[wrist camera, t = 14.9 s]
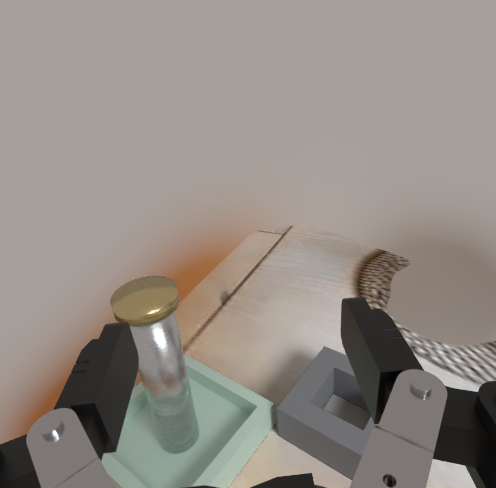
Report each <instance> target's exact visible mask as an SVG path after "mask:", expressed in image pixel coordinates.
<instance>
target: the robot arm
mask: <svg viewBox="0 0 496 488" xmlns="http://www.w3.org/2000/svg"><path fill="white" fill-rule="evenodd" d="M341 338H342V343H343V347H344V349H345V352H346V354H347V357H348V359H349V362H350V364H351V367H352V369H353V372H354V374H355V377H356V379H357V382H358V384H359V387H360V389H361V392H362V394H363V397H364V399H365V402H366V404H367V407H368V409H369V412H370V414H371V417H372V419H373V422H374V424H379V425H378V426H375V427H374V428H373V430H372V433H371V435H370V438H369V440H368V443H367V445H366V448H365V450H364V453H363V455H362V458H361V460H360V463H359V465H358V468H357V470H356V473H355V475H354V478H353V480H352V483H351V485H350V488H426V484H427V480H428V476H429V472H430V467H431V463H432V459H437V460H441V461H446V462H451V463H456V464H460V465H465V466H466V468H467V470H468V472H469V474H470V476H471V478H472V480H473V481H474V483H475V485H476V487H477V488H496V381H491V382H486V383H484V384H483V385H482V386H481V387H480V388H479V391H478V392H473V391H467V390H461V389H455V388H450V387H447V386H445V385H444V384H443V383H442V381H441V380H440V379H438V378H437V377H436V376H434V375H433V374H431V373H429V372H426V371H424V370H423V368H422V366H421V365H420V363H419V362H418V360H417V358H416V357H415V355H414V354H413V352H412V350H411V349H410V347H409V346H408V344H407V342H406V341H405V339H404V338H403V336H402V334H401V333H400V331H399V330H398V329H397V326H396V325H395V323H394V321H393V320H392V318H391V317H390V316H389V315H387V314H386V313H385V312H383V311H382V310H381V309H373V310H371V309H370V307H369V305H368V303H367V302H366V300H365V298H364V297H355V298H346V299H343V300H342V309H341ZM138 366H139V356H138V351H137V348H136V345H135V342H134V338H133V335H132V332H131V329H130V326H129V324H128V323H127V322H121V323H112V324H106V325H105V326H104V329H103V331H102V333H101V335H100V337H99V339H94V340H91V341H90V342H89V343H88V344H87V345H86V346H85V347H84V349H82V351H81V353H80V355H79V357H78V359H77V361H76V365H74V368H73V370H72V374H70V376H69V378H68V380H67V382H66V384H65V386H64V389H63V391H62V393H61V395H60V397H59V399H58V401H57V403H56V406H55V408H54V410H53V411H50V412H48V413H46V414H45V415H43V416H42V417H41V418H39V419H38V420H37V421H36V422H35V423H34V424H33V425H32V427H31V428H30V430H29V432H28V434H26V435H24V436H21V437H19V438H16V439H14V440H11V441H9V442H6V443H3V444H0V488H114V486H113V484H112V482H111V480H110V478H109V476H108V474H107V472H106V470H105V468H104V466H103V464H102V462H101V461H102V457H103V454H104V453H113V452H116V450H117V446H118V442H119V439H120V435H121V431H122V427H123V424H124V420H125V416H126V412H127V409H128V405H129V401H130V398H131V394H132V390H133V386H134V383H135V379H136V375H137V371H138ZM184 488H218V487H212V486H207V485H202V486H193V487H184ZM251 488H326V487H322V486H318V485H314V481H313V476H312V473H308V474H299V475H290V476H282V477H276V478H273V479H271V480H268V481H266V482H263V483H261V484H258V485H256V486H254V487H251Z"/></svg>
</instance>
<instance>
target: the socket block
mask: <svg viewBox="0 0 496 488" xmlns="http://www.w3.org/2000/svg"><path fill="white" fill-rule="evenodd" d="M333 394H335V395H337V396H339V397H342V398H344V399H346V400H348V401H350V402H352V403H354V404H356V405H358V406H360V407H362V408H364V409H366V410H369V409H368V407H367V404H366V402H365V399H364V397H363V394H362V392H361V389H360V387H359V384H358V382H357V379H356V377H355V374H354V372H353V369H352V367H351V364H350V362H349V359H348V357H347V355H344V354H342V353H339V352H337V351H335V350H332V349H330V348H327V347H325V346H324V347H323V349H322V350H321V351H320V353H319V354H318V355H317V357H316V358H315V359H314V360H313V362H312V363H311V364H310V366H309V367H308V368H307V370H306V371H305V372H304V373H303V375H302V376H301V377H300V379H299V380H298V381H297V383H296V384H295V385H294V386H293V388H292V389H291V390H290V392H289V393H288V394H287V396H286V397H285V398H284V399H283V401H282V402H281V403H280V405H279V406H278V407H277V421H278V436H280V437H282V438H283V439H285V440H287V441H288V442H290V443H292V444H293V445H295V446H297V447H298V448H300V449H302V450H303V451H305V452H306V453H308V454H310V455H311V456H313V457H315V458H316V459H318V460H320V461H321V462H323V463H325V464H326V465H328V466H330V467H331V468H333V469H334V470H336V471H338V472H339V473H341V474H343V475H344V476H346V477H348V478H349V479H351V480H353V478H354V475H355V473H356V470H357V468H358V465H359V463H360V460H361V458H362V455H363V453H364V450H365V448H366V445H367V443H368V440H369V438H370V435H371V433H372V430H373V428H374V427H375V426H378V425H379V424H374V422H373V419H372V417H370V419H369V421H368V423H367V425H366V427H365V429H364V430H362V429H360V428H358V427H356V426H354V425H352V424H350V423H348V422H346V421H344V420H342V419H340V418H338V417H336V416H335V415H333V414H331V413H329V412H327V411H325V410H323V409H324V407H325V405H326V404H327V402H328V401H329V399H330V398H331V396H332V395H333Z"/></svg>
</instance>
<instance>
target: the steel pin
mask: <svg viewBox="0 0 496 488" xmlns="http://www.w3.org/2000/svg"><path fill="white" fill-rule="evenodd" d="M178 305H179V294H178V290H177V285H176V283H175V282H174V281H173V280H172V279H169V278H167V277H163V276H148V277H143V278H139V279H135V280H133V281H130V282H128V283H126V284H124V285H123V286H121V287H120V288H118V289H117V290H116V291H115V292H114V294H113V295H112V297H111V306H112V310H113V313H114V316H115V319H116V320H117V321H118V322H119V323H121V322H127V323H128V324H129V326H130V329H131V332H132V335H133V338H134V342H135V345H136V348H137V351H138V356H139V366H138V369H139V373H140V376H141V380H142V383H143V386H144V390H145V393H146V397H147V400H148V404H149V407H150V410H151V414H152V417H153V421H154V424H155V428H156V431H157V434H158V438H159V441H160V445H161V447H162V448H163V449H164V450H165V451H166V452H168V453H172V454H179V453H183V452H185V451H187V450H189V449H190V448H191V447H192V446H193V445H194V444H195V443H196V441H197V440H198V437H199V425H198V421H197V416H196V411H195V406H194V402H193V397H192V392H191V387H190V383H189V378H188V373H187V368H186V364H185V359H184V354H183V350H182V345H181V340H180V335H179V331H178V326H177V321H176V316H175V312H174V311H175V310H176V309H177V307H178Z"/></svg>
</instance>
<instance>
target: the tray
mask: <svg viewBox="0 0 496 488" xmlns="http://www.w3.org/2000/svg"><path fill="white" fill-rule="evenodd" d="M183 354H184V353H183ZM184 359H185V364H186V368H187V373H188V378H189V383H190V387H191V392H192V397H193V402H194V406H195V411H196V416H197V421H198V425H199V437H198V440H197V441H196V443H195V444H194V445H193V446H192V447H191V448H190V449H189V450H187V451H185V452H183V453H179V454H172V453H168V452H166V451H165V450H164V449H163V448H162V447H161V445H160V441H159V438H158V434H157V431H156V428H155V424H154V421H153V417H152V414H151V410H150V407H149V404H148V400H147V397H146V393H145V390H144V386H143V383H142V381H141V382H140V383H139V384H138V385H137V386H135V387H134V388H133V390H132V394H131V398H130V401H129V405H128V409H127V412H126V416H125V420H124V424H123V427H122V431H121V435H120V439H119V442H118V446H117V450H116V452H113V453H104V454H103V457H102V461H101V462H102V464H103V466H104V468H105V470H106V472H107V474H108V476H109V478H110V480H111V482H112V484H113V486H114V488H184V487H193V486H202V485H207V486H212V487H218V488H228V487H229V485H230V484H231V483H232V481H233V480H234V479H235V477H236V476H237V475H238V473H239V472H240V471H241V469H242V468H243V467H244V465H245V464H246V463H247V461H248V460H249V459H250V457H251V456H252V454H253V453H254V452H255V450H256V449H257V448H258V446H259V445H260V444H261V442H262V441H263V440H264V438H265V437H266V436H267V434H268V433H269V432H270V430H271V429H272V428H273V426H274V425H275V424H276V421H275V407H274V403H273V402H271V401H269V400H267V399H265V398H263V397H262V396H260V395H258V394H256V393H254V392H253V391H251V390H249V389H247V388H245V387H244V386H242V385H240V384H238V383H236V382H235V381H233V380H231V379H229V378H227V377H226V376H224V375H222V374H220V373H218V372H216V371H215V370H213V369H211V368H209V367H207V366H206V365H204V364H202V363H200V362H198V361H197V360H195V359H193V358H191V357H189V356H188V355H186V354H184Z"/></svg>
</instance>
